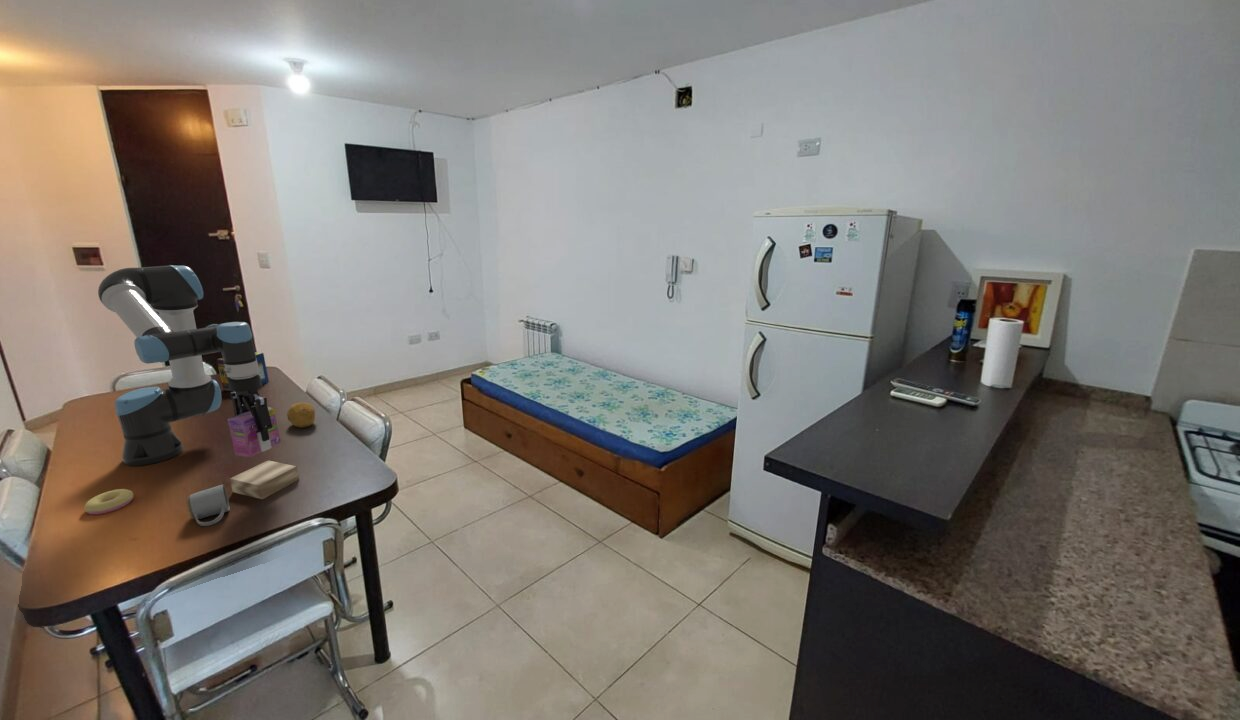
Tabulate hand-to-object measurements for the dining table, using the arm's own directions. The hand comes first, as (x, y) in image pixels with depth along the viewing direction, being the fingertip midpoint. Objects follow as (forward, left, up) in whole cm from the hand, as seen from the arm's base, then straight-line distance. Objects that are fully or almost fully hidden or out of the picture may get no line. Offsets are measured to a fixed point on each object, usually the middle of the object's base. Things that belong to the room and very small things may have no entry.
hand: (258, 447), depth 146 cm
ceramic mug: (+3, -16, -13) cm, 21 cm away
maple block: (0, 0, -14) cm, 14 cm away
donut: (-28, -26, -14) cm, 41 cm away
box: (0, 0, -1) cm, 1 cm away
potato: (-34, +34, -13) cm, 50 cm away
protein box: (-102, +51, -13) cm, 115 cm away
